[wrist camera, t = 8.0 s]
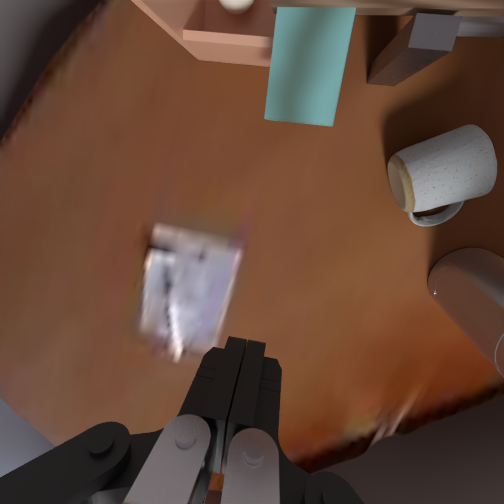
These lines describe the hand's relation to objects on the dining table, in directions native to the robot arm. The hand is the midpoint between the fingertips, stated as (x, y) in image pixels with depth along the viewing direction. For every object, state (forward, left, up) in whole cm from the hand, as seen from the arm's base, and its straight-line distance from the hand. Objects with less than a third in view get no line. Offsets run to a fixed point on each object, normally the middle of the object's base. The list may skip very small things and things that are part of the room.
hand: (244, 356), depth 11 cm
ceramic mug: (-17, -6, -29) cm, 34 cm away
